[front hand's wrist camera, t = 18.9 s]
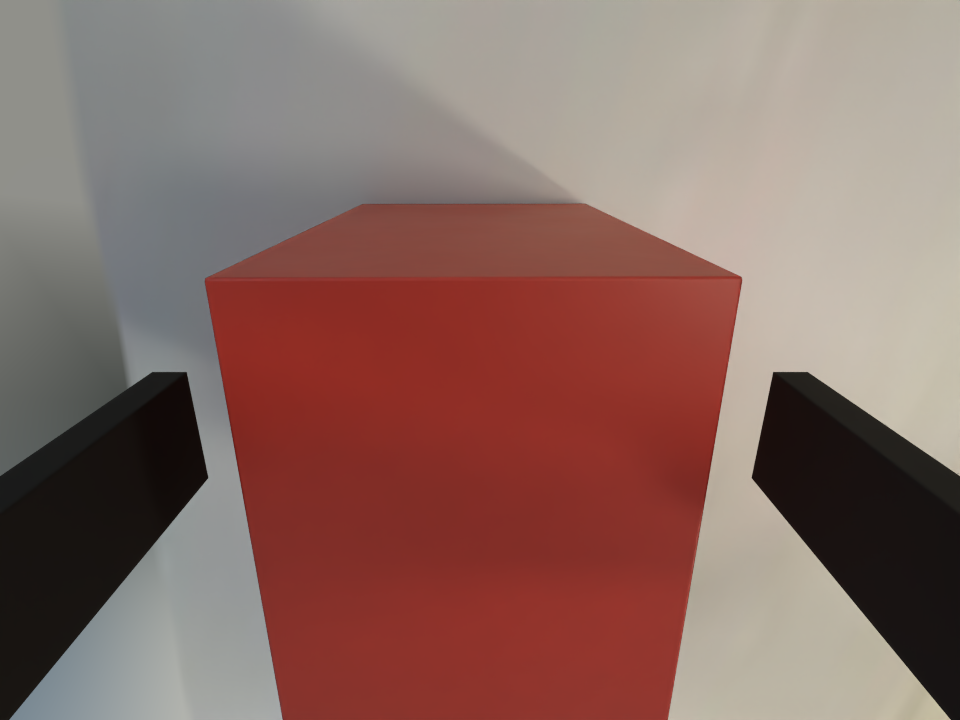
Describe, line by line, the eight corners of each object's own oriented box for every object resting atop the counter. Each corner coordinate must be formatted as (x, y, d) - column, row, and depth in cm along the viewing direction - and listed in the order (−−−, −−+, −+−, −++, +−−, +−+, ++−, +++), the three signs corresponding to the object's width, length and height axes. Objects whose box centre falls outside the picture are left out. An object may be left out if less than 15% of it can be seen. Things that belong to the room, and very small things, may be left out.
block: (586, 203, 18) (744, 276, 8) (571, 437, 21) (668, 723, 11) (361, 203, 18) (202, 278, 8) (378, 438, 21) (282, 726, 11)
